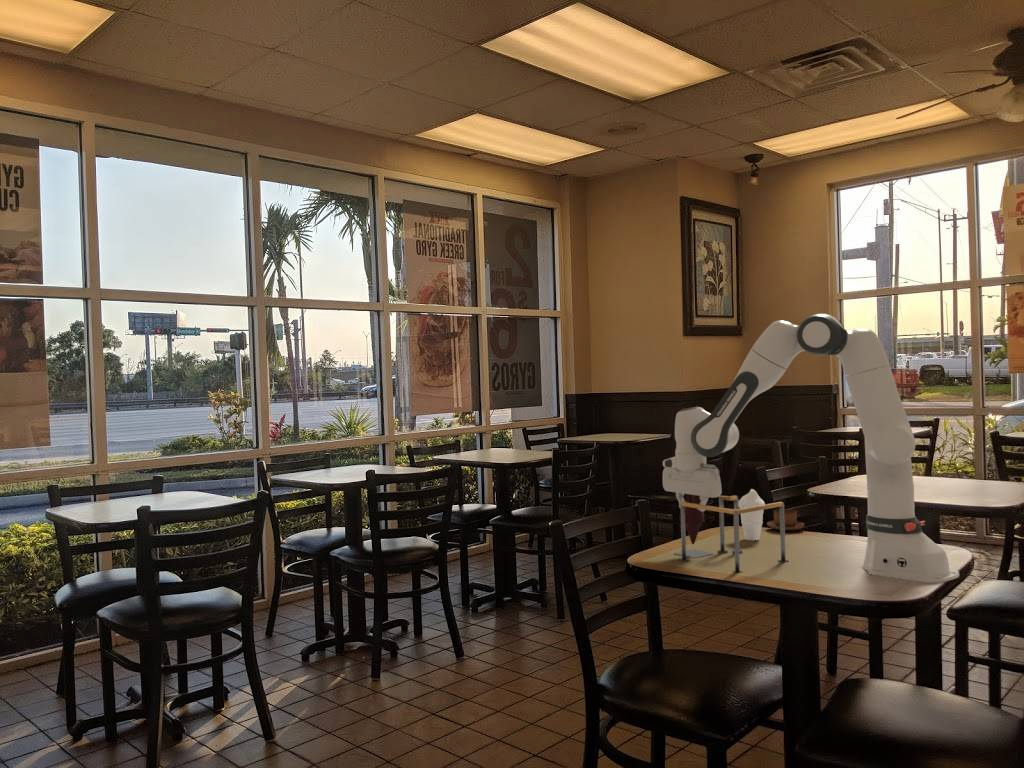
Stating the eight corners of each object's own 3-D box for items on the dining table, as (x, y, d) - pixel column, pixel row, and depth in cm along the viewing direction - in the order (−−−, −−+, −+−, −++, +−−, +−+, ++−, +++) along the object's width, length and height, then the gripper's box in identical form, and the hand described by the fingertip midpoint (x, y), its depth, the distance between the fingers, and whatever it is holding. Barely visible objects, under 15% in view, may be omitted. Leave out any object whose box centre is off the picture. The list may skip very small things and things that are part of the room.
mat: (713, 555, 233) (713, 553, 233) (694, 559, 228) (694, 557, 228) (692, 550, 239) (692, 549, 239) (673, 554, 235) (673, 553, 235)
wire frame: (788, 563, 221) (787, 502, 220) (737, 575, 209) (736, 511, 209) (729, 550, 238) (727, 494, 238) (679, 561, 226) (677, 502, 226)
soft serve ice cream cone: (733, 538, 256) (732, 488, 256) (756, 535, 258) (754, 486, 258) (748, 543, 248) (747, 491, 248) (771, 540, 250) (770, 489, 250)
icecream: (710, 545, 231) (710, 494, 231) (688, 547, 229) (687, 495, 229) (697, 541, 238) (697, 490, 238) (675, 543, 236) (675, 492, 235)
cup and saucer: (764, 525, 275) (764, 507, 275) (800, 525, 273) (800, 507, 273) (769, 532, 263) (768, 513, 263) (807, 532, 261) (807, 513, 261)
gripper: (725, 464, 227) (727, 512, 227) (673, 459, 244) (674, 504, 244) (710, 466, 223) (712, 515, 223) (658, 460, 240) (659, 506, 240)
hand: (692, 509), depth 234 cm, fingers open, 6 cm apart
